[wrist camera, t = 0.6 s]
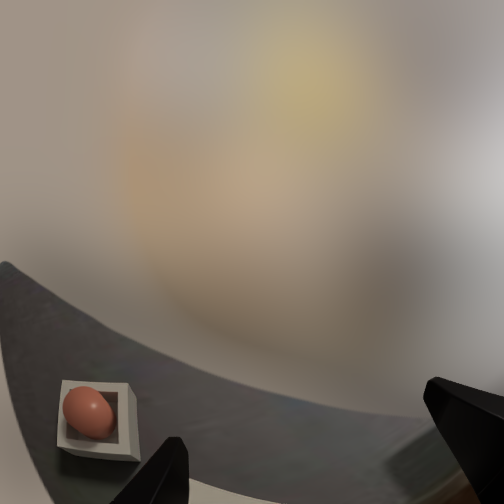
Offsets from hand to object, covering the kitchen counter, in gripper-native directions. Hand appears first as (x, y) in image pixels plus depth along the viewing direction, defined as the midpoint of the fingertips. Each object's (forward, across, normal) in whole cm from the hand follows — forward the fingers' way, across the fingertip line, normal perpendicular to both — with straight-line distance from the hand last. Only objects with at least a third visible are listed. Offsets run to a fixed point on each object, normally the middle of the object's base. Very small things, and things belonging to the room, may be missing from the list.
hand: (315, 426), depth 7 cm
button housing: (+8, +15, +8) cm, 19 cm away
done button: (+7, +14, +6) cm, 17 cm away
